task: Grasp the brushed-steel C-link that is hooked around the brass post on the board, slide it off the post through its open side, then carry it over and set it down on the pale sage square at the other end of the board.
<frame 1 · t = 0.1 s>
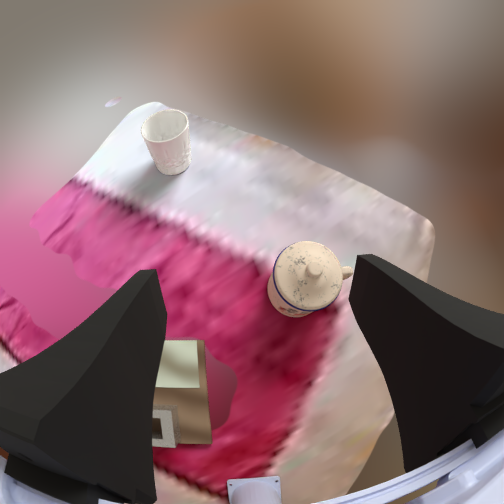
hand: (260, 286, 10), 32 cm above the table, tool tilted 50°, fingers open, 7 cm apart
white cup: (174, 162, 50), on the table
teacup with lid: (303, 288, 43), on the table
c link: (152, 421, 33), point 1 cm above the table, touching board
board: (164, 392, 36), on the table
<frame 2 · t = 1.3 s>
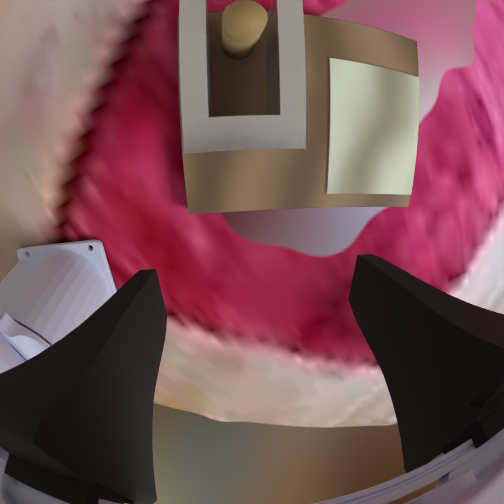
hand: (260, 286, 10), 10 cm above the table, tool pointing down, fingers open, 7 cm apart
c link: (238, 76, 14), point 1 cm above the table, touching board
board: (309, 108, 16), on the table
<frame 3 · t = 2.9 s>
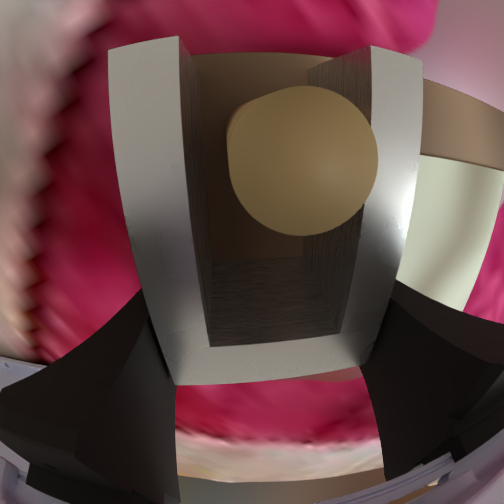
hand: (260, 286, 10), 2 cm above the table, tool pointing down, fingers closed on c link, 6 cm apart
c link: (257, 192, 9), point 1 cm above the table, touching board, gripper
board: (363, 230, 11), on the table
when the fingers open (3 cm above the table, at t = 7.8 s): c link stays where it is, resting on board.
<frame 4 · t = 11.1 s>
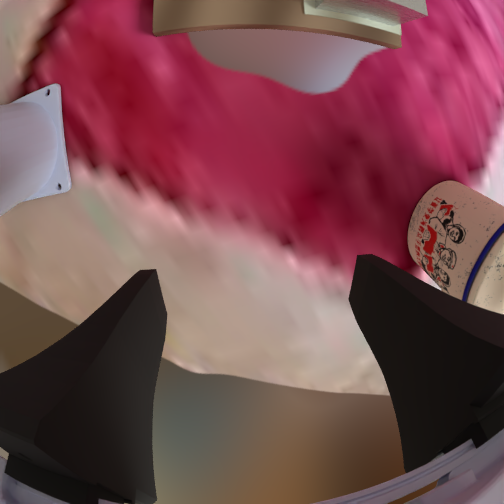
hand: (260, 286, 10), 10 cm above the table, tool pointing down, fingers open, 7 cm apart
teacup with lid: (437, 237, 22), on the table
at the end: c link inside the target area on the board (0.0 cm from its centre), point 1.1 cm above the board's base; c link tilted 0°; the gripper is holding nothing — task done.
